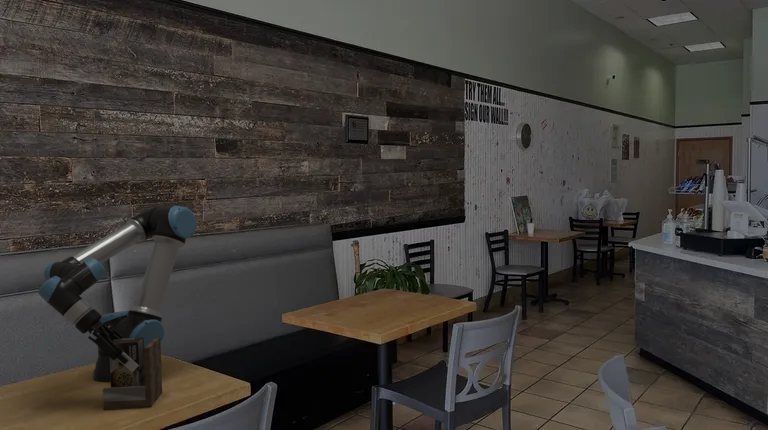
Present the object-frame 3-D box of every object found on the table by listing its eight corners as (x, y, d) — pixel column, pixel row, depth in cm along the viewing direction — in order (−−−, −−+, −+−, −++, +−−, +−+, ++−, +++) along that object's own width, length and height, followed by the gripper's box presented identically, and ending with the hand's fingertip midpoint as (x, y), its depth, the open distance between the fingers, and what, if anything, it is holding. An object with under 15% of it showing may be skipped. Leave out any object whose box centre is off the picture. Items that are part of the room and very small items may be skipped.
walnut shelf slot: (118, 395, 200) (116, 339, 199) (162, 392, 202) (160, 337, 201) (103, 410, 186) (101, 350, 185) (150, 407, 188) (148, 348, 187)
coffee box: (145, 386, 197) (144, 336, 197) (140, 392, 191) (139, 341, 190) (116, 387, 196) (115, 338, 196) (110, 394, 190) (108, 342, 189)
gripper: (86, 319, 201) (139, 365, 203) (62, 332, 181) (120, 383, 184) (102, 302, 201) (155, 349, 203) (80, 314, 182) (138, 365, 184)
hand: (138, 365), depth 194 cm, fingers closed on coffee box, 6 cm apart
